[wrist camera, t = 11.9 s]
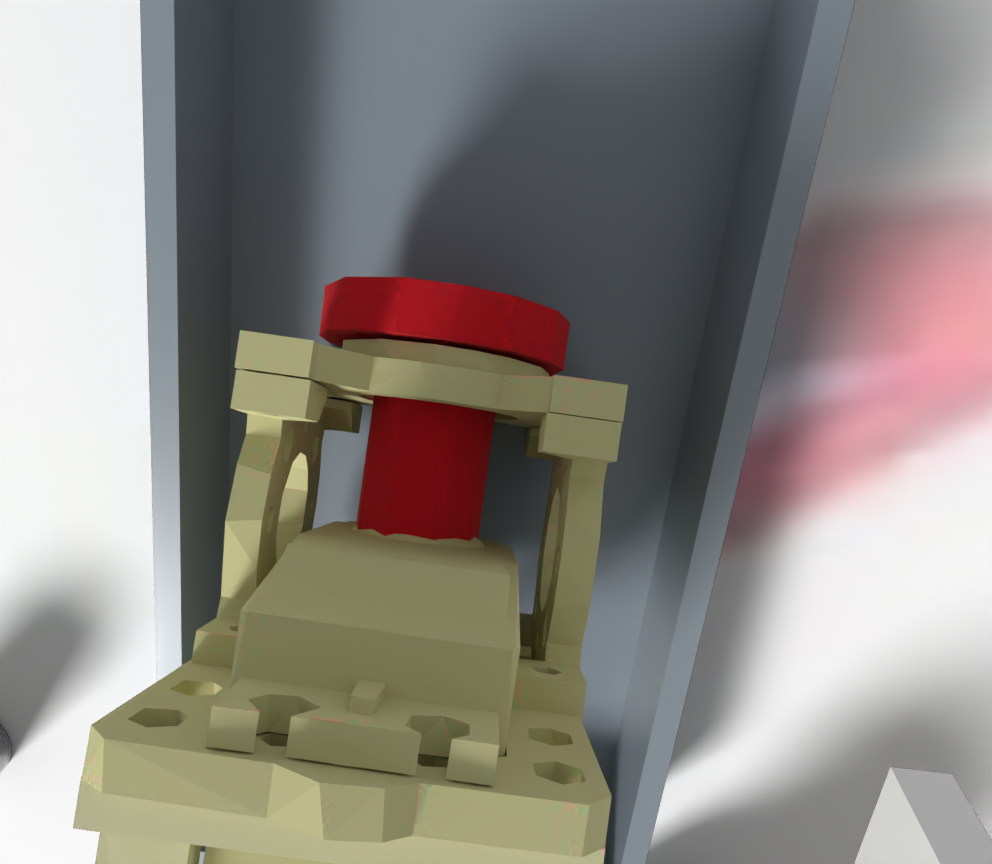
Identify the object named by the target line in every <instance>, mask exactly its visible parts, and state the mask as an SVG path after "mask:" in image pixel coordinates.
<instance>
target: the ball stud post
mask: <svg viewBox="0 0 992 864" xmlns="http://www.w3.org/2000/svg"><path fill="white" fill-rule="evenodd" d="M11 753H12V747H11V743H10V740H9V737H8V735H7V734H6V732H5V731H4V729H3V728H2V727H1V726H0V773H1V772H2V770H3V769H4V768H5V766H6V765H7V764H8V762H9V760H10V758H11Z"/></svg>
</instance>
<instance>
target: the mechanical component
mask: <svg viewBox="0 0 992 864" xmlns="http://www.w3.org/2000/svg"><path fill="white" fill-rule="evenodd" d="M569 327H570V322H569V321H568V320H567V319H566V318H565V317H564V316H563V315H562V314H561V313H560V312H559V311H557V310H554V309H551V308H549V307H546V306H543V305H540V304H538V303H535V302H532V301H529V300H527V299H524V298H521V297H518V296H513V295H509V294H504V293H499V292H495V291H490V290H486V289H481V288H477V287H472V286H468V285H462V284H454V283H446V282H438V281H431V280H423V279H415V278H408V277H343V278H341V279H339V280H337V281H335V282H333V283H331V284H328V285H326V286H325V292H324V300H323V308H322V316H321V324H320V332H319V336H320V337H322V338H323V339H325V340H326V341H328V342H329V343H332V344H335V345H338V346H341V347H342V349H339V348H335V347H331V346H327V345H322V344H319V343H317V342H315V341H313V340H306V339H299V338H292V337H285V336H278V335H271V334H264V333H257V332H250V331H243V330H240V333H239V340H238V347H237V353H236V360H235V366H234V367H235V368H238V369H240V370H236V374H235V381H234V388H233V394H232V401H231V407H230V408H232V409H235V410H238V411H241V412H244V413H247V414H248V415H247V428H246V436H245V439H244V443H243V446H242V449H241V452H240V456H239V459H238V462H237V467H236V471H235V476H234V481H233V486H232V491H231V496H230V501H229V505H228V510H227V515H226V520H225V535H224V552H223V569H222V586H221V598H220V603H219V608H218V613H217V617H216V618H215V619H214V620H212V621H210V622H209V623H207V624H206V625H204V626H203V627H201V628H199V629H198V630H196V635H195V642H194V648H193V655H192V659H191V660H190V661H188V662H187V663H185V664H183V665H182V666H180V667H179V668H177V669H176V670H174V671H173V672H171V673H170V674H168V675H167V676H165V677H164V678H162V679H161V680H159V681H158V682H156V683H155V684H153V685H152V686H150V687H148V688H147V689H145V690H144V691H142V692H141V693H139V694H138V695H136V696H135V697H133V698H132V699H130V700H129V701H127V702H126V703H124V704H123V705H121V706H120V707H118V708H117V709H115V710H113V711H112V712H110V713H109V714H107V715H106V716H104V717H103V718H101V719H100V720H98V721H97V722H95V723H94V724H92V725H91V729H90V735H89V741H88V746H87V752H86V758H85V763H84V769H83V774H82V777H81V781H80V788H79V794H78V800H77V807H76V813H75V819H74V826H73V828H74V829H82V830H89V831H97V832H100V836H99V843H98V849H97V855H96V862H95V864H199V859H200V852H201V846H206V847H205V854H204V860H203V864H603V863H604V855H605V842H606V835H607V827H608V820H609V813H610V805H611V798H612V796H611V793H610V791H609V788H608V786H607V783H606V781H605V778H604V776H603V773H602V771H601V768H600V766H599V763H598V761H597V758H596V756H595V754H594V751H593V749H592V746H591V744H590V741H589V739H588V736H587V734H586V731H585V729H584V726H583V724H582V717H583V709H584V702H585V694H586V687H587V683H586V681H585V679H584V676H583V674H582V672H581V670H580V661H581V647H582V643H583V638H584V633H585V628H586V623H587V619H588V614H589V609H590V603H591V597H592V590H593V583H594V576H595V569H596V562H597V555H598V548H599V541H600V528H601V514H602V501H603V487H604V478H605V473H606V468H607V463H609V462H616V461H617V456H618V449H619V441H620V434H621V426H622V422H623V420H624V412H625V405H626V397H627V390H628V385H624V384H617V383H610V382H603V381H596V380H589V379H582V378H575V377H568V376H560V375H555V374H557V373H559V372H561V371H563V370H564V364H565V356H566V349H567V342H568V335H569ZM242 370H243V371H242ZM553 375H554V376H553ZM549 376H552V377H549ZM360 405H373V407H372V414H371V421H370V428H369V436H368V443H367V450H366V457H365V464H364V472H363V479H362V486H361V493H360V501H359V508H358V515H357V521H348V522H340V521H334V522H332V523H329V524H326V525H323V526H320V527H318V528H315V529H312V527H313V522H314V516H315V510H316V504H317V495H318V487H319V478H320V467H321V449H322V440H323V435H324V431H325V430H335V431H343V432H351V433H358V434H359V430H360V423H361V417H362V410H363V407H362V406H360ZM494 422H500V423H505V424H510V425H515V426H520V427H526V428H529V429H528V431H527V438H526V445H525V452H524V456H526V457H533V458H541V459H545V460H550V461H553V469H552V476H551V482H550V487H549V493H548V499H547V504H546V510H545V517H544V524H543V531H542V538H541V545H540V552H539V561H538V570H537V580H536V589H535V598H534V607H533V613H532V614H526V613H519V578H518V563H517V561H516V558H515V555H514V553H513V550H512V547H511V546H510V545H505V544H500V543H498V541H493V540H486V539H479V538H478V537H479V530H480V522H481V515H482V508H483V501H484V494H485V486H486V479H487V472H488V465H489V458H490V450H491V443H492V436H493V429H494Z"/></svg>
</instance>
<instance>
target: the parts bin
mask: <svg viewBox="0 0 992 864" xmlns="http://www.w3.org/2000/svg"><path fill="white" fill-rule="evenodd" d="M854 3H855V0H140V13H141V55H142V96H143V137H144V179H145V220H146V261H147V303H148V344H149V385H150V427H151V468H152V509H153V551H154V592H155V633H156V675H157V682H158V681H159V680H161V679H162V678H164V677H165V676H167V675H168V674H170V673H171V672H173V671H174V670H176V669H177V668H179V667H180V666H182V665H183V664H185V663H187V662H188V661H190V660H191V659H192V655H193V648H194V642H195V635H196V630H198V629H199V628H201V627H203V626H204V625H206V624H207V623H209V622H210V621H212V620H214V619H215V618H216V617H217V613H218V608H219V603H220V598H221V586H222V569H223V552H224V535H225V520H226V515H227V510H228V505H229V501H230V496H231V491H232V486H233V481H234V476H235V471H236V467H237V462H238V459H239V456H240V452H241V449H242V446H243V443H244V439H245V436H246V428H247V415H248V414H247V413H244V412H241V411H238V410H235V409H232V408H230V407H231V401H232V394H233V388H234V381H235V374H236V370H240V369H238V368H235V367H234V366H235V360H236V353H237V347H238V340H239V333H240V330H243V331H250V332H257V333H264V334H271V335H278V336H285V337H292V338H299V339H306V340H313V341H315V342H317V343H319V344H322V345H327V346H331V347H335V348H339V349H342V347H341V346H338V345H335V344H332V343H329V342H328V341H326V340H325V339H323V338H322V337H320V336H319V332H320V324H321V316H322V308H323V300H324V292H325V286H326V285H328V284H331V283H333V282H335V281H337V280H339V279H341V278H343V277H408V278H415V279H423V280H431V281H438V282H446V283H454V284H462V285H468V286H472V287H477V288H481V289H486V290H490V291H495V292H499V293H504V294H509V295H513V296H518V297H521V298H524V299H527V300H529V301H532V302H535V303H538V304H540V305H543V306H546V307H549V308H551V309H554V310H557V311H559V312H560V313H561V314H562V315H563V316H564V317H565V318H566V319H567V320H568V321H569V322H570V327H569V335H568V342H567V349H566V356H565V364H564V370H563V371H561V372H559V373H557V374H555V375H560V376H568V377H575V378H582V379H589V380H596V381H603V382H610V383H617V384H624V385H628V390H627V397H626V405H625V412H624V420H623V422H622V426H621V434H620V441H619V449H618V456H617V461H616V462H609V463H607V468H606V473H605V478H604V487H603V501H602V514H601V528H600V541H599V548H598V555H597V562H596V569H595V576H594V583H593V590H592V597H591V603H590V609H589V614H588V619H587V623H586V628H585V633H584V638H583V643H582V647H581V661H580V670H581V672H582V674H583V676H584V679H585V681H586V683H587V687H586V694H585V702H584V709H583V717H582V724H583V726H584V729H585V731H586V734H587V736H588V739H589V741H590V744H591V746H592V749H593V751H594V754H595V756H596V758H597V761H598V763H599V766H600V768H601V771H602V773H603V776H604V778H605V781H606V783H607V786H608V788H609V791H610V793H611V796H612V798H611V805H610V813H609V820H608V827H607V835H606V842H605V855H604V863H603V864H646V860H647V856H648V851H649V847H650V843H651V839H652V835H653V831H654V827H655V823H656V819H657V814H658V810H659V806H660V802H661V798H662V794H663V790H664V786H665V781H666V777H667V773H668V769H669V765H670V761H671V757H672V753H673V748H674V744H675V740H676V736H677V732H678V728H679V724H680V720H681V716H682V711H683V707H684V703H685V699H686V695H687V691H688V687H689V683H690V678H691V674H692V670H693V666H694V662H695V658H696V654H697V650H698V645H699V641H700V637H701V633H702V629H703V625H704V621H705V617H706V612H707V608H708V604H709V600H710V596H711V592H712V588H713V584H714V580H715V575H716V571H717V567H718V563H719V559H720V555H721V551H722V547H723V542H724V538H725V534H726V530H727V526H728V522H729V518H730V514H731V509H732V505H733V501H734V497H735V493H736V489H737V485H738V481H739V476H740V472H741V468H742V464H743V460H744V456H745V452H746V448H747V444H748V439H749V435H750V431H751V427H752V423H753V419H754V415H755V411H756V406H757V402H758V398H759V394H760V390H761V386H762V382H763V378H764V373H765V369H766V365H767V361H768V357H769V353H770V349H771V345H772V341H773V336H774V332H775V328H776V324H777V320H778V316H779V312H780V308H781V303H782V299H783V295H784V291H785V287H786V283H787V279H788V275H789V270H790V266H791V262H792V258H793V254H794V250H795V246H796V242H797V237H798V233H799V229H800V225H801V221H802V217H803V213H804V209H805V205H806V200H807V196H808V192H809V188H810V184H811V180H812V176H813V172H814V167H815V163H816V159H817V155H818V151H819V147H820V143H821V139H822V134H823V130H824V126H825V122H826V118H827V114H828V110H829V106H830V101H831V97H832V93H833V89H834V85H835V81H836V77H837V73H838V69H839V64H840V60H841V56H842V52H843V48H844V44H845V40H846V36H847V31H848V27H849V23H850V19H851V15H852V11H853V7H854ZM242 371H243V370H242ZM553 376H554V375H553ZM549 377H552V376H549ZM360 406H362V407H363V410H362V417H361V423H360V430H359V434H358V433H351V432H343V431H335V430H325V431H324V435H323V440H322V449H321V467H320V478H319V487H318V495H317V504H316V510H315V516H314V522H313V527H312V529H315V528H318V527H320V526H323V525H326V524H329V523H332V522H334V521H340V522H348V521H357V515H358V508H359V501H360V493H361V486H362V479H363V472H364V464H365V457H366V450H367V443H368V436H369V428H370V421H371V414H372V407H373V405H360ZM528 429H529V428H526V427H520V426H515V425H510V424H505V423H500V422H494V429H493V436H492V443H491V450H490V458H489V465H488V472H487V479H486V486H485V494H484V501H483V508H482V515H481V522H480V530H479V537H478V538H479V539H486V540H493V541H498V543H500V544H505V545H510V546H511V547H512V550H513V553H514V555H515V558H516V561H517V563H518V578H519V613H526V614H532V613H533V607H534V598H535V589H536V580H537V570H538V561H539V552H540V545H541V538H542V531H543V524H544V517H545V510H546V504H547V499H548V493H549V487H550V482H551V476H552V469H553V461H550V460H545V459H541V458H533V457H526V456H524V452H525V445H526V438H527V431H528ZM205 847H206V846H201V852H200V859H199V864H203V860H204V854H205Z"/></svg>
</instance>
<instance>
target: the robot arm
mask: <svg viewBox="0 0 992 864" xmlns="http://www.w3.org/2000/svg"><path fill="white" fill-rule="evenodd" d="M854 864H992V840H991V838H990V836H989V835H988V833H987V831H986V830H985V828H984V826H983V824H982V823H981V821H980V819H979V818H978V816H977V814H976V813H975V811H974V809H973V808H972V806H971V804H970V803H969V801H968V799H967V798H966V796H965V794H964V793H963V791H962V789H961V788H960V786H959V784H958V782H957V781H956V779H955V777H954V776H953V774H946V773H937V772H929V771H921V770H913V769H904V768H896V767H890V769H889V772H888V775H887V777H886V780H885V783H884V785H883V788H882V791H881V793H880V796H879V799H878V801H877V804H876V807H875V809H874V812H873V815H872V817H871V820H870V823H869V825H868V828H867V831H866V833H865V836H864V839H863V841H862V844H861V847H860V849H859V852H858V855H857V857H856V860H855V863H854Z"/></svg>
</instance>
